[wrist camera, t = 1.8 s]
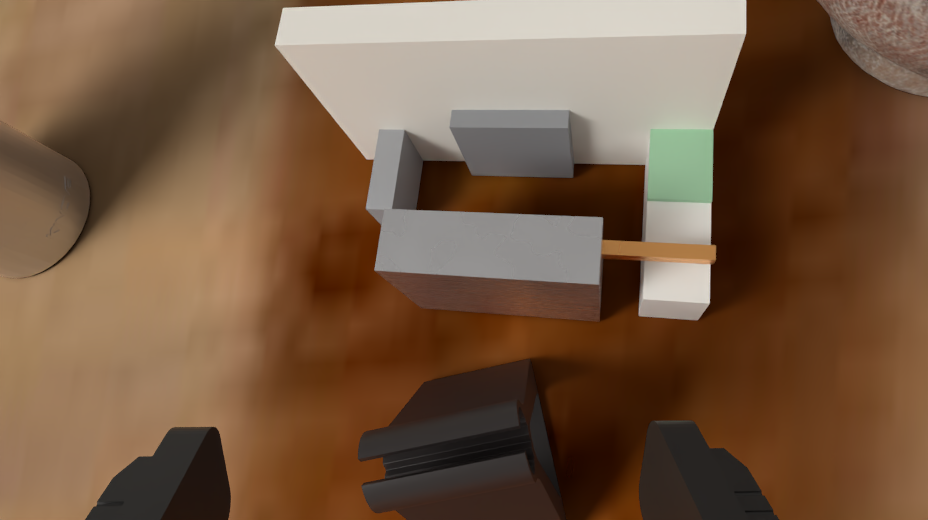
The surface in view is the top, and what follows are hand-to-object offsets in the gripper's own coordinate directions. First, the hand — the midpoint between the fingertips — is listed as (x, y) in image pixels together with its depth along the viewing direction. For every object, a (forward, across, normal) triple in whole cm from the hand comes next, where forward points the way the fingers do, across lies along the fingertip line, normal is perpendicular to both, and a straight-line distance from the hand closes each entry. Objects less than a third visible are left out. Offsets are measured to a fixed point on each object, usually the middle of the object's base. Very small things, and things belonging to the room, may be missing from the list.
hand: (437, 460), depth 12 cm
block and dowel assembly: (+22, +6, -7) cm, 24 cm away
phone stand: (+17, +3, -15) cm, 23 cm away
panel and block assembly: (+26, +4, -4) cm, 26 cm away
